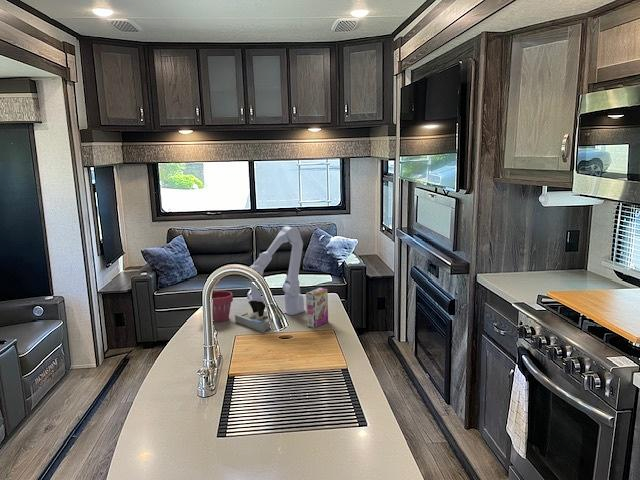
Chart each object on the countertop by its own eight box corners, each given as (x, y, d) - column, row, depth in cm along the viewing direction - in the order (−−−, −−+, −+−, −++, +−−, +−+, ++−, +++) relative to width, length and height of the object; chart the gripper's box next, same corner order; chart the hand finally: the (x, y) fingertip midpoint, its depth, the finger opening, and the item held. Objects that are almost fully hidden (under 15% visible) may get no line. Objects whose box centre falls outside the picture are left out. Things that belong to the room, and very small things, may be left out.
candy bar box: (315, 328, 218) (313, 294, 215) (306, 326, 221) (305, 292, 218) (329, 321, 227) (327, 288, 224) (320, 319, 230) (319, 287, 227)
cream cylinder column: (264, 315, 240) (264, 308, 240) (269, 316, 238) (268, 309, 237) (243, 322, 231) (242, 315, 231) (247, 323, 229) (247, 316, 228)
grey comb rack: (245, 318, 236) (244, 310, 235) (273, 328, 220) (272, 320, 220) (235, 321, 232) (234, 313, 231) (262, 332, 216) (262, 323, 215)
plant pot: (238, 314, 242) (236, 290, 240) (227, 324, 229) (225, 298, 227) (212, 314, 246) (210, 290, 243) (200, 323, 232) (197, 298, 230)
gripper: (241, 288, 235) (243, 314, 238) (259, 293, 225) (261, 320, 227) (253, 285, 240) (254, 310, 242) (270, 289, 230) (272, 316, 232)
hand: (258, 315), depth 235 cm, fingers closed on cream cylinder column, 4 cm apart
